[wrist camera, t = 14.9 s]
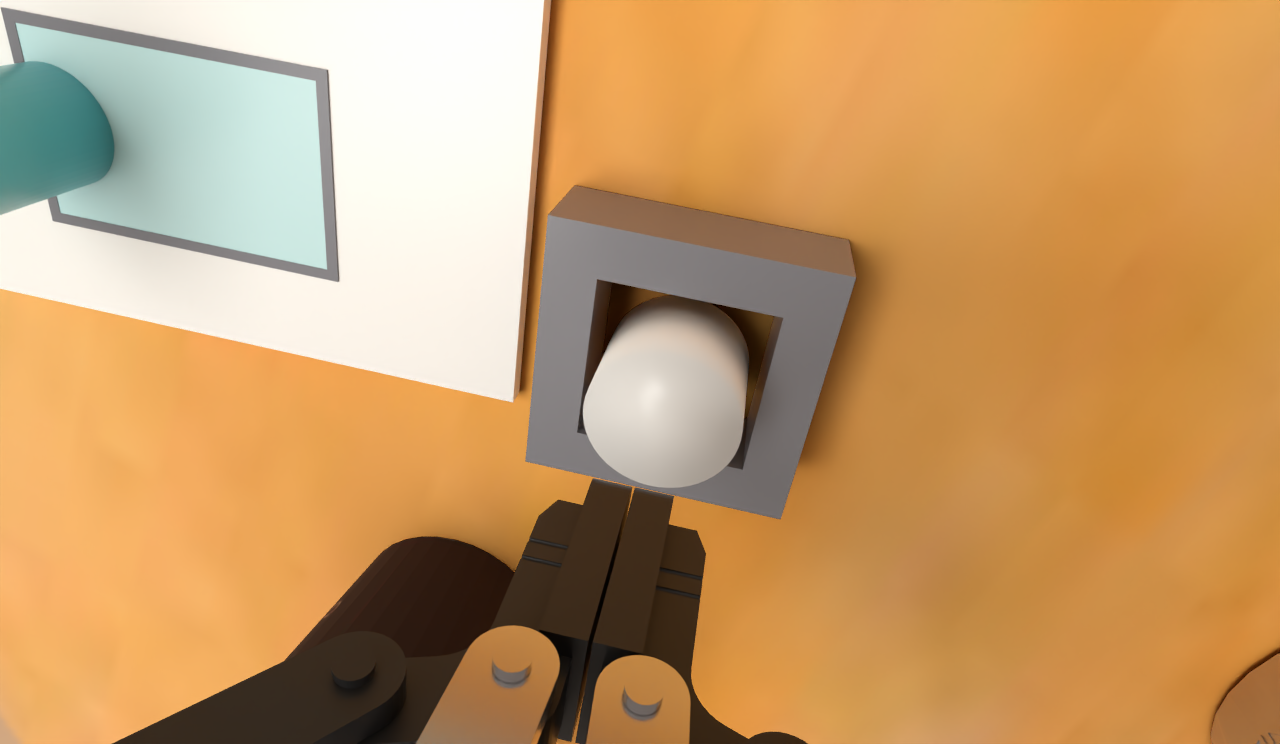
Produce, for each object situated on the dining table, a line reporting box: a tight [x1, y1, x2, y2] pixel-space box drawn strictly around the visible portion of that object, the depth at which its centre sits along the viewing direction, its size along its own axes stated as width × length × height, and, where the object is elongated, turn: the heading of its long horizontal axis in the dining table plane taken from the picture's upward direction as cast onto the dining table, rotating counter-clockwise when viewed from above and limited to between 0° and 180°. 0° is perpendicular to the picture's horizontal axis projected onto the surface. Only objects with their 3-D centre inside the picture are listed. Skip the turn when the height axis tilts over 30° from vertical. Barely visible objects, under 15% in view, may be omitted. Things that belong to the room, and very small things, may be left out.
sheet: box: [0, 0, 551, 402], centre depth 21 cm, size 17×11×1 cm, turn 82°
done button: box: [583, 295, 749, 488], centre depth 19 cm, size 4×4×3 cm
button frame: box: [526, 185, 856, 519], centre depth 20 cm, size 7×7×2 cm
